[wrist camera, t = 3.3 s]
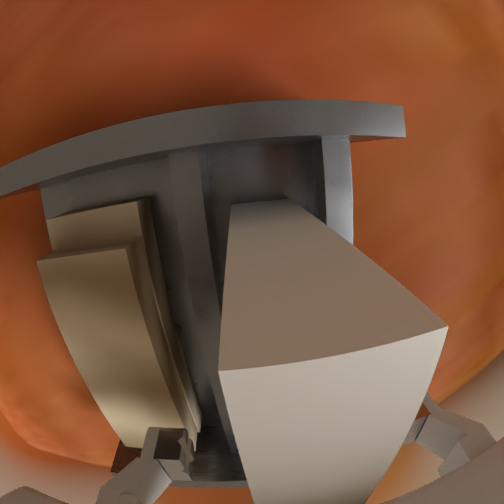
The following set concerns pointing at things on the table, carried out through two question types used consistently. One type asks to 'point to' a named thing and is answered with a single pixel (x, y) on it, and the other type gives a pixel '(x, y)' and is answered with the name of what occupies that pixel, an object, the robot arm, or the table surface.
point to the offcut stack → (119, 317)
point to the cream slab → (317, 357)
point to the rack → (209, 211)
